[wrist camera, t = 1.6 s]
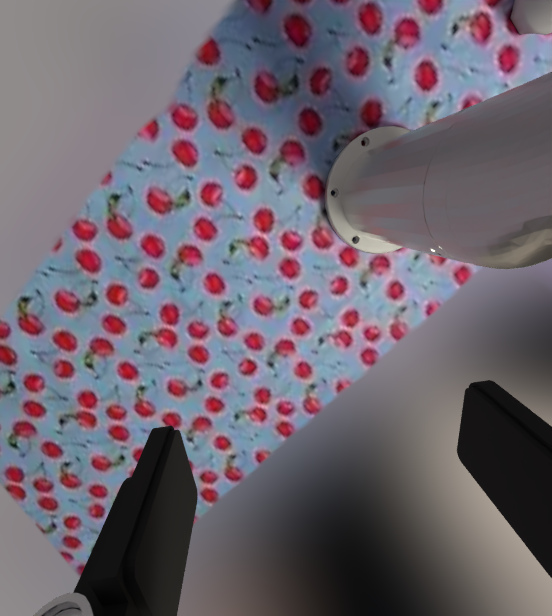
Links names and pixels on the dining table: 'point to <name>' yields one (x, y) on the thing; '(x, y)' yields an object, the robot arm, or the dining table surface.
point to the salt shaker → (532, 16)
